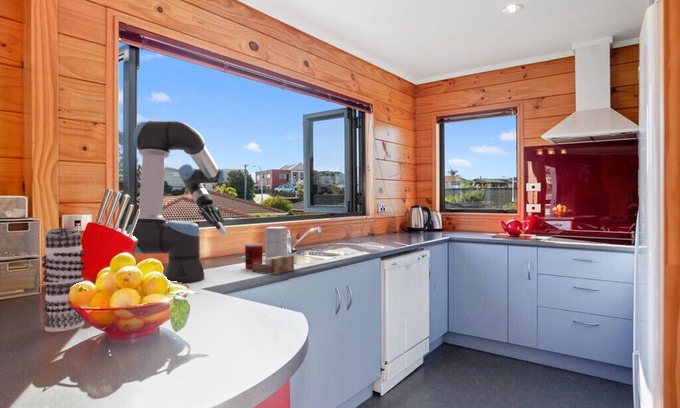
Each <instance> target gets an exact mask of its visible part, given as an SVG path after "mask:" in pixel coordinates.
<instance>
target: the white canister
mask: <svg viewBox="0 0 680 408" xmlns="http://www.w3.org/2000/svg"><path fill="white" fill-rule="evenodd" d="M264 243H265V244H264V247H265V248H264V249H265V253H264V254H265V256H264V257H265V259H266V258H272V257H278V256H283V257H285V256H288V226H269V227H265V228H264Z"/></svg>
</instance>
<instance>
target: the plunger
mask: <svg viewBox="0 0 680 408" xmlns="http://www.w3.org/2000/svg"><path fill="white" fill-rule="evenodd" d="M279 257H283V256H278V257H272V258H266V259H265V261H264V262H265V264H266V265H271V259H273V258H279Z"/></svg>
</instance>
